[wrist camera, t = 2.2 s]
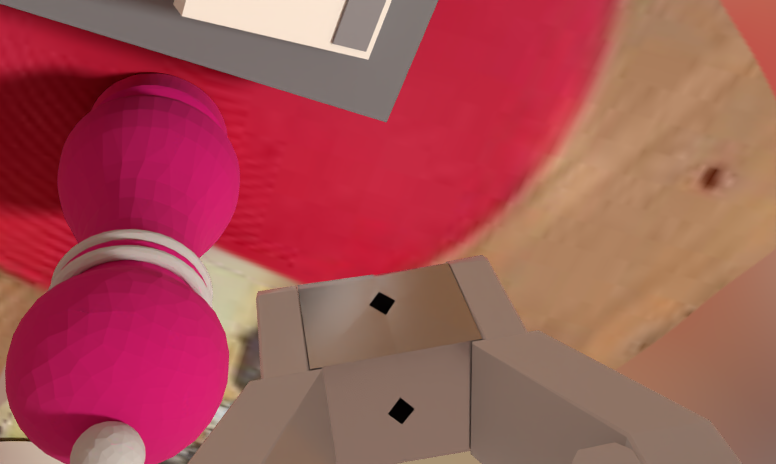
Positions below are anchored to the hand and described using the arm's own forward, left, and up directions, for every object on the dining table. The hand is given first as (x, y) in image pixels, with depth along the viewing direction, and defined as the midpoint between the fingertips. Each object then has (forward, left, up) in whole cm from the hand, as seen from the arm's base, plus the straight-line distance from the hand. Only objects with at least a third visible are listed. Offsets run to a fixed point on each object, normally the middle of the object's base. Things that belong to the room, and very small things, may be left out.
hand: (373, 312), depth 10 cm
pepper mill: (-10, +2, -25) cm, 27 cm away
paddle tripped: (0, 0, -17) cm, 17 cm away
